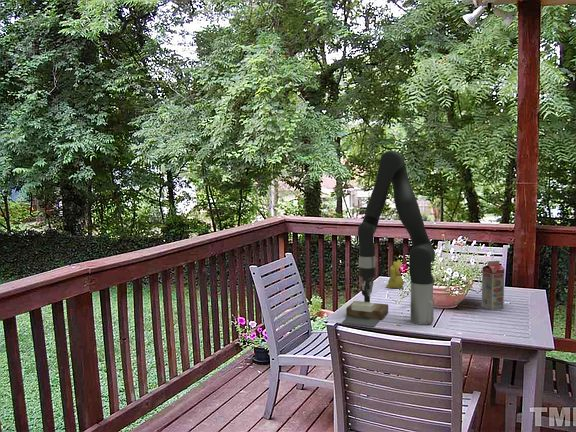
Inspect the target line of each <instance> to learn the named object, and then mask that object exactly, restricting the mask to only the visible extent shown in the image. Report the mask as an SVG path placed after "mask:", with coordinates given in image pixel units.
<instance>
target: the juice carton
mask: <svg viewBox="0 0 576 432" xmlns="http://www.w3.org/2000/svg"><path fill="white" fill-rule="evenodd" d="M500 263H501V262H500V260H491V261H487V263H486V264H487V265H484V266H483V267H482V271H481V273H482V276H481V277H482V279H481V281H482V282H481V307H482V308H485V309H487V310H490V311H496V310H503V309H504V299H505V298H504V296H505V295H504V294H505V293H504V292H505V268H504V267H503V266H502V265H501V264H500Z"/></svg>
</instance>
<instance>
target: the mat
mask: <svg viewBox="0 0 576 432" xmlns="http://www.w3.org/2000/svg"><path fill="white" fill-rule="evenodd" d="M379 321H380V320H379V319H371V318H362V317H353V316H348V317H347V316H346V318H345V319H344V320H342V321H341V324H342V323H343V325H350V326H351V325H352V326H358V327H359V326H360V327H367V328H375V327H376V326H377V324H378V323H379Z"/></svg>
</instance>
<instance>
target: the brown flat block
mask: <svg viewBox="0 0 576 432" xmlns="http://www.w3.org/2000/svg"><path fill="white" fill-rule="evenodd" d="M355 301H356V300H354V301H352V302H351V303H350V304H349V305H348V306H347V307H346V309H345V310H346V311H345V312H346V318H347V317H348V316H353V317H362V318H371V319H379V321H383V320H384V319H385V318H386V317H387V315H388V314H389V304H386V303H377V302H374V303H375V309H374V310H373V311H372V312H365V311H357V310H352V304H353V303H354V302H355Z"/></svg>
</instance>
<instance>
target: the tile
mask: <svg viewBox="0 0 576 432" xmlns="http://www.w3.org/2000/svg"><path fill="white" fill-rule="evenodd" d="M354 301H355V302H354ZM354 301H353V302H354V303H353V302H352V303H353V304H352V303H351V304H352V310H357V311H365V312H372V311H373V310H374V309H375V303H376V302H371V301H370V302H364V301H361V300H354Z"/></svg>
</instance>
